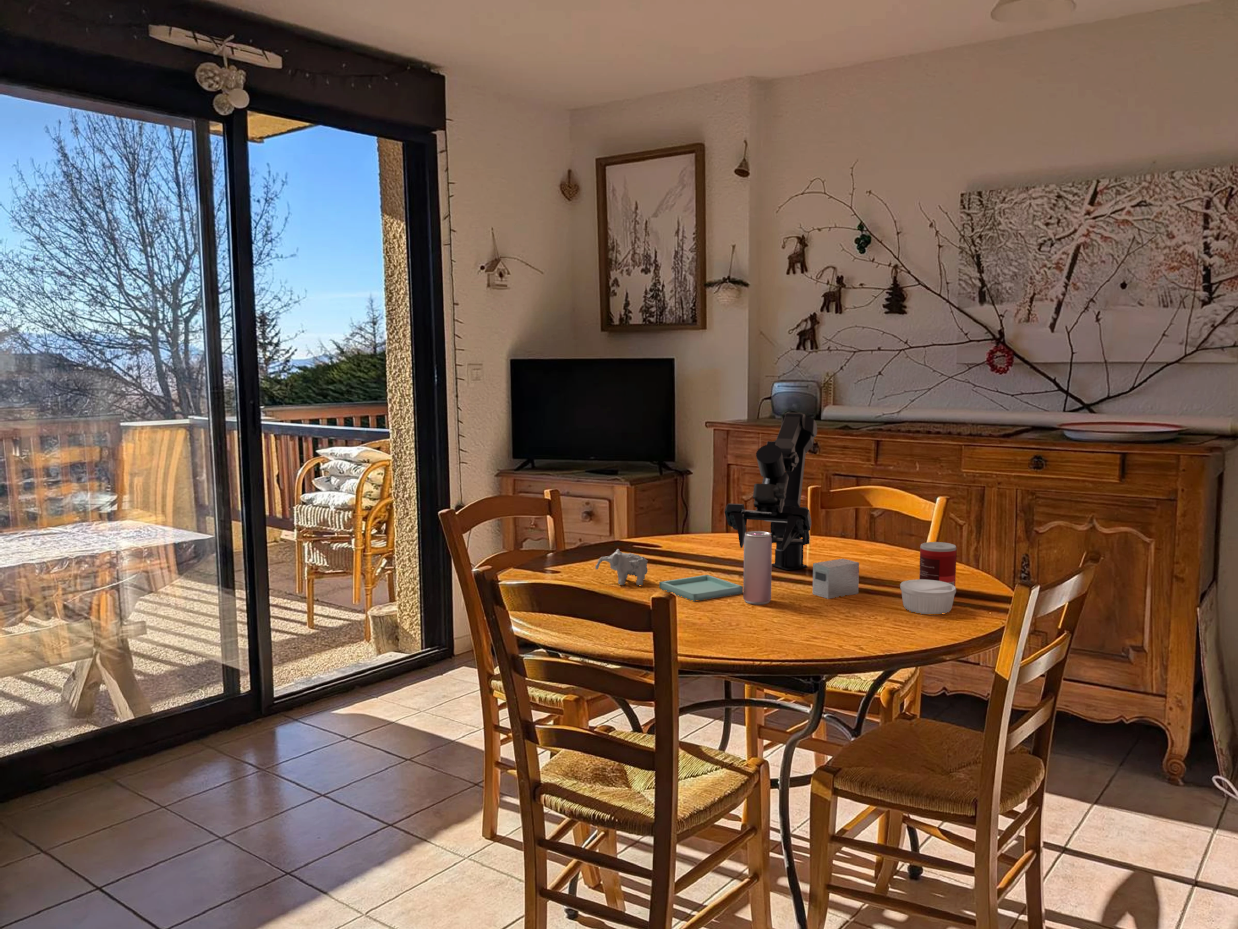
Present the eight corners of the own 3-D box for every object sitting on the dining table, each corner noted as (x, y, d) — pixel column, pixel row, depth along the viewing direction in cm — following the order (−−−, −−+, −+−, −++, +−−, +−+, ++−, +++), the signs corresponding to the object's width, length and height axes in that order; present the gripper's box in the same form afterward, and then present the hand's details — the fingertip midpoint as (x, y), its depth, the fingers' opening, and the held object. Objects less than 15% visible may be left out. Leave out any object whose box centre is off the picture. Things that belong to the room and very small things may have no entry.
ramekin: (947, 620, 200) (948, 594, 199) (892, 612, 206) (893, 587, 205) (961, 607, 209) (961, 583, 208) (908, 600, 215) (908, 576, 214)
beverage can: (740, 598, 217) (741, 531, 215) (767, 597, 218) (768, 530, 216) (746, 605, 211) (747, 536, 210) (774, 604, 212) (774, 535, 210)
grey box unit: (843, 588, 225) (844, 558, 225) (859, 593, 221) (860, 562, 220) (811, 594, 221) (812, 563, 220) (827, 599, 216) (828, 567, 215)
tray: (707, 581, 233) (707, 574, 233) (742, 593, 222) (742, 586, 221) (659, 588, 226) (659, 581, 226) (693, 601, 215) (693, 594, 215)
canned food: (955, 591, 223) (956, 542, 221) (954, 599, 215) (956, 549, 214) (919, 588, 225) (921, 540, 224) (918, 596, 218) (919, 547, 216)
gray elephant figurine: (651, 588, 229) (653, 555, 228) (601, 588, 226) (602, 555, 225) (641, 579, 238) (643, 548, 237) (592, 579, 235) (594, 547, 234)
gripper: (727, 467, 223) (713, 524, 214) (810, 471, 216) (799, 529, 207) (735, 498, 231) (722, 553, 222) (815, 501, 225) (805, 559, 215)
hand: (761, 548), depth 217 cm, fingers open, 9 cm apart
